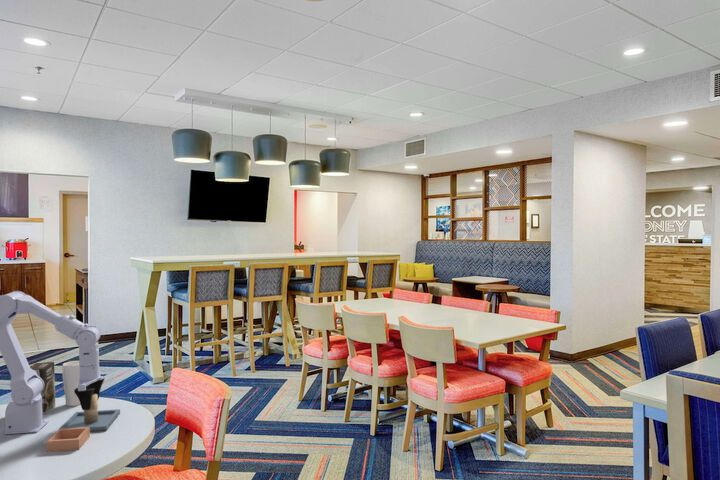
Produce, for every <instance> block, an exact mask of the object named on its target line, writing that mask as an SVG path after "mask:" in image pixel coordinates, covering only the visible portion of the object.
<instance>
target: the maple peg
mask: <svg viewBox="0 0 720 480" xmlns="http://www.w3.org/2000/svg"><path fill="white" fill-rule="evenodd" d="M98 402H99V399H98V395H97V394H93V395H92V400H91V407H90V409H89V410H83V411H84V423H85V424H91V423H95V422H97V421H98V411H99V405H98V404H99V403H98Z"/></svg>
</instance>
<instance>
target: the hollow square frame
mask: <svg viewBox="0 0 720 480" xmlns="http://www.w3.org/2000/svg"><path fill="white" fill-rule="evenodd" d="M90 437H91V432H90V427H83V428H68V429H58V430H57V431H56V432H55V433H54V434H53V435H52V436H51V437H50V438H48V440H46V451H47V452H48V453H49V452H63V451H75V450H80V449H81V448H82V446H84V444H85V443H86V442H87V441H88V439H89V438H90ZM47 452H46V453H47Z"/></svg>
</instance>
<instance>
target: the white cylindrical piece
mask: <svg viewBox="0 0 720 480" xmlns="http://www.w3.org/2000/svg"><path fill="white" fill-rule="evenodd" d="M61 367H62V368H61V369H62V372H61V373H62V383H63V391H64V399H65V405H66V406H67V407H76V406H77V407H78V406H79V405H81V404H80V401H79V399H78V397H77V395H76V394H75V392H74V390H75V389H76V388H78V385H79V378H80V370H79V360H72V361H67V362H64V363H63V364H62V366H61Z"/></svg>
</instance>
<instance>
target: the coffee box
mask: <svg viewBox="0 0 720 480" xmlns="http://www.w3.org/2000/svg"><path fill="white" fill-rule="evenodd" d="M29 366H30V368H31V369H32V370H34V371H36V373H37V375H38V376H39V377H40V378H41V379H42V380H43V381H44V389H43V391H42V392H41V396H42V416H45V415H46V414H47V413H49V412H50V411H51V410H52V409H53V408H54V407H56V377H55V376H56V375H55V362H54V361H46V362H45V361H44V362H35V363H34V364H32V365H29Z"/></svg>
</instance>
